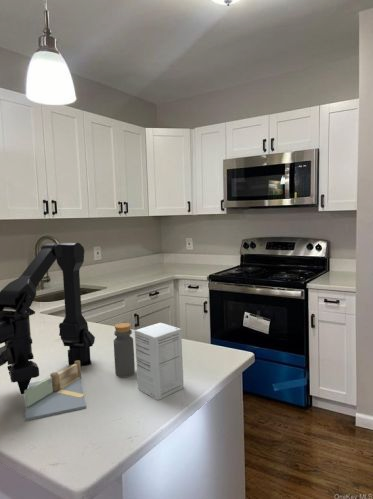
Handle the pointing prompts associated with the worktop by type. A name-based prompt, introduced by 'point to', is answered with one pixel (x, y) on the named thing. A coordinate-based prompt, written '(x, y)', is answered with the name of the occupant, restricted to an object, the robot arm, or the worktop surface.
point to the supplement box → (159, 360)
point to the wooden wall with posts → (65, 376)
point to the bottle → (124, 351)
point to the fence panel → (38, 391)
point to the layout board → (58, 401)
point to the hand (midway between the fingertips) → (23, 393)
